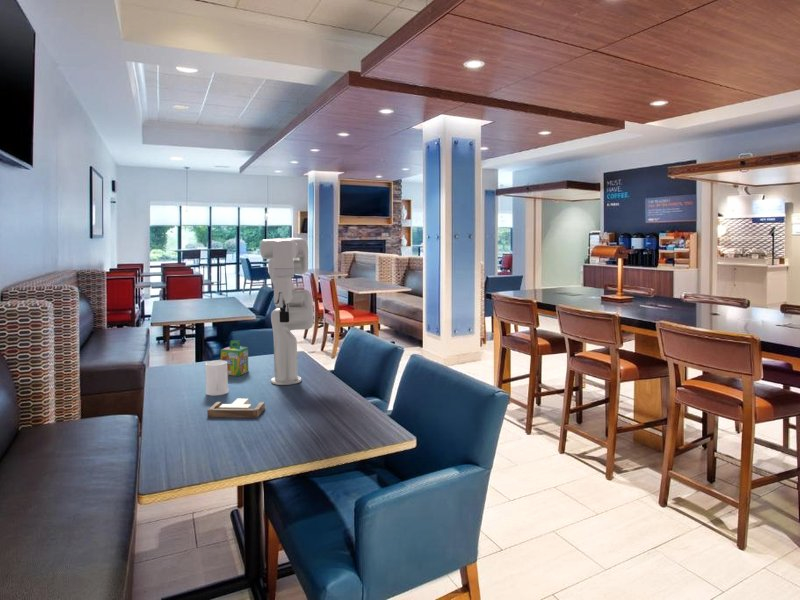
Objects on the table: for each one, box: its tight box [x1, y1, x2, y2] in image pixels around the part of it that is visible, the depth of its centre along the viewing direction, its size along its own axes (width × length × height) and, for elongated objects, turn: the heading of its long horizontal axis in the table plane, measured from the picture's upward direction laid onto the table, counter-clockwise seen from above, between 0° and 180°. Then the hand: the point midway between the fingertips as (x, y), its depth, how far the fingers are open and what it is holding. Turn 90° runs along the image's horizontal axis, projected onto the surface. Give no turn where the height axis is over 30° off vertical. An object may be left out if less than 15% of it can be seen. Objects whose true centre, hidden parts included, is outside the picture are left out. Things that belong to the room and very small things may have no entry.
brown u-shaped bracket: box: [206, 401, 265, 419], centre depth 182 cm, size 9×17×2 cm, turn 89°
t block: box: [219, 397, 252, 409], centre depth 184 cm, size 10×10×3 cm
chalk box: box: [220, 340, 249, 377], centre depth 234 cm, size 9×9×15 cm
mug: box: [205, 359, 230, 396], centre depth 204 cm, size 12×8×12 cm
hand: (284, 321), depth 197 cm, fingers closed
